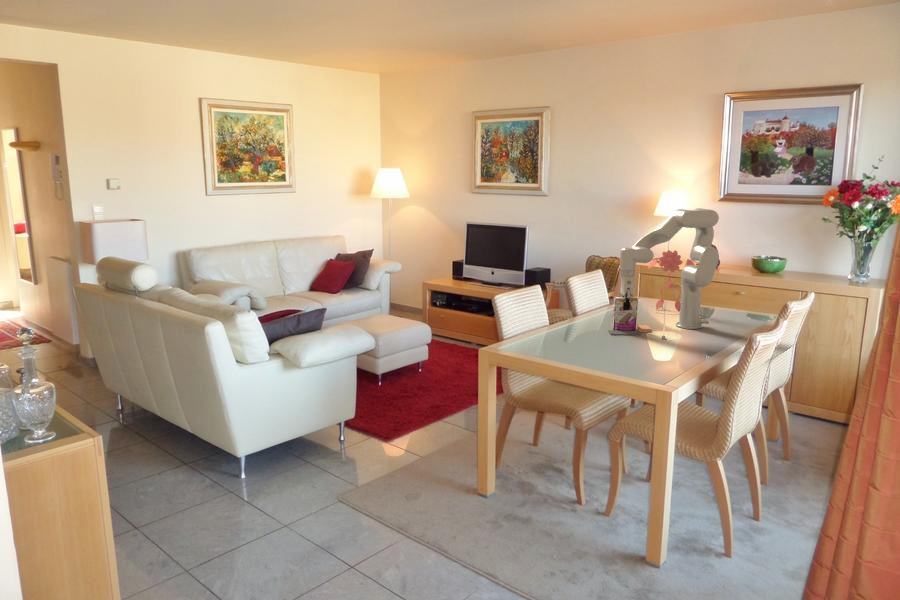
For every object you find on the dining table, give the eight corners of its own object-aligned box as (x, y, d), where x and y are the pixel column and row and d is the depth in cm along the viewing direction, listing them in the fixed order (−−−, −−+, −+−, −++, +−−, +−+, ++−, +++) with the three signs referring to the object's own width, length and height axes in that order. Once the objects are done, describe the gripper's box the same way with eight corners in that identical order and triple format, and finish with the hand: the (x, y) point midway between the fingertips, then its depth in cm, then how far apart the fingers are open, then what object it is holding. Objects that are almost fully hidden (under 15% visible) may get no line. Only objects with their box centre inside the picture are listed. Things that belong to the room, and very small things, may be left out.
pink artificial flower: (648, 306, 386) (651, 247, 378) (693, 311, 372) (698, 250, 364) (639, 311, 373) (643, 250, 365) (686, 317, 359) (691, 254, 351)
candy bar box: (613, 330, 329) (615, 298, 326) (612, 328, 334) (613, 296, 331) (636, 331, 328) (638, 298, 325) (634, 328, 333) (636, 297, 330)
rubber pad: (636, 331, 327) (637, 330, 327) (640, 335, 320) (640, 334, 320) (608, 331, 328) (608, 330, 328) (610, 335, 321) (611, 333, 321)
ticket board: (647, 328, 334) (647, 324, 334) (651, 332, 327) (651, 328, 326) (635, 328, 335) (635, 324, 334) (639, 331, 327) (639, 328, 327)
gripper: (638, 275, 317) (636, 312, 320) (631, 270, 333) (629, 305, 337) (622, 275, 317) (620, 312, 321) (616, 270, 334) (614, 305, 338)
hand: (625, 308), depth 329 cm, fingers closed on candy bar box, 5 cm apart
